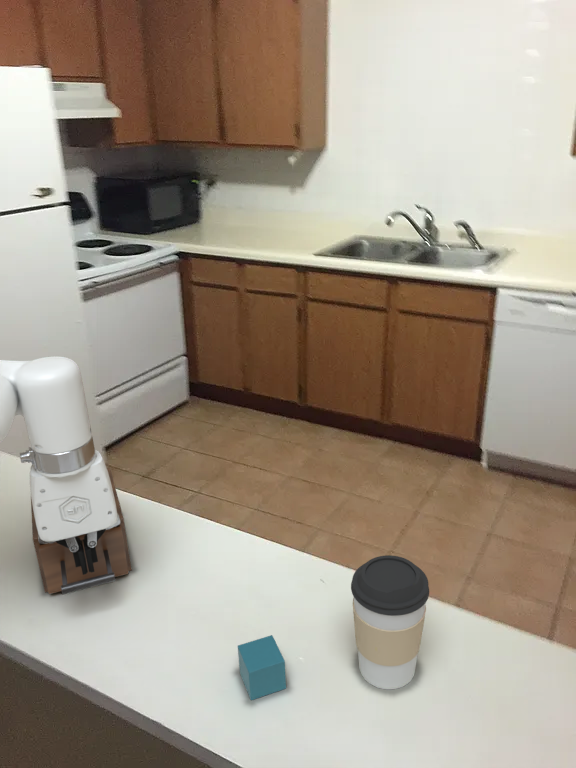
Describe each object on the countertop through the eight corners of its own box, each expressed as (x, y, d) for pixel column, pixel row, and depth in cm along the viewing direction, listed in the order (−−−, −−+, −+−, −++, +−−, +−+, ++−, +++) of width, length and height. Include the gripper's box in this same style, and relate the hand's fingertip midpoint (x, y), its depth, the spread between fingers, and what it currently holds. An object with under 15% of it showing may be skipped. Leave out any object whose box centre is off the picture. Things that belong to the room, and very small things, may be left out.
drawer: (136, 602, 94) (128, 557, 91) (51, 625, 90) (40, 579, 87) (115, 520, 112) (109, 481, 109) (44, 537, 108) (35, 496, 105)
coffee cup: (338, 651, 86) (338, 557, 79) (401, 631, 88) (405, 538, 82) (371, 707, 78) (373, 606, 72) (438, 683, 81) (446, 584, 75)
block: (250, 700, 79) (248, 672, 77) (239, 672, 83) (237, 645, 81) (286, 688, 81) (285, 661, 79) (273, 661, 84) (272, 634, 83)
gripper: (1, 480, 80) (32, 600, 87) (127, 453, 84) (146, 569, 92) (2, 451, 86) (30, 565, 94) (119, 428, 91) (137, 538, 98)
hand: (87, 567), depth 93 cm, fingers closed
